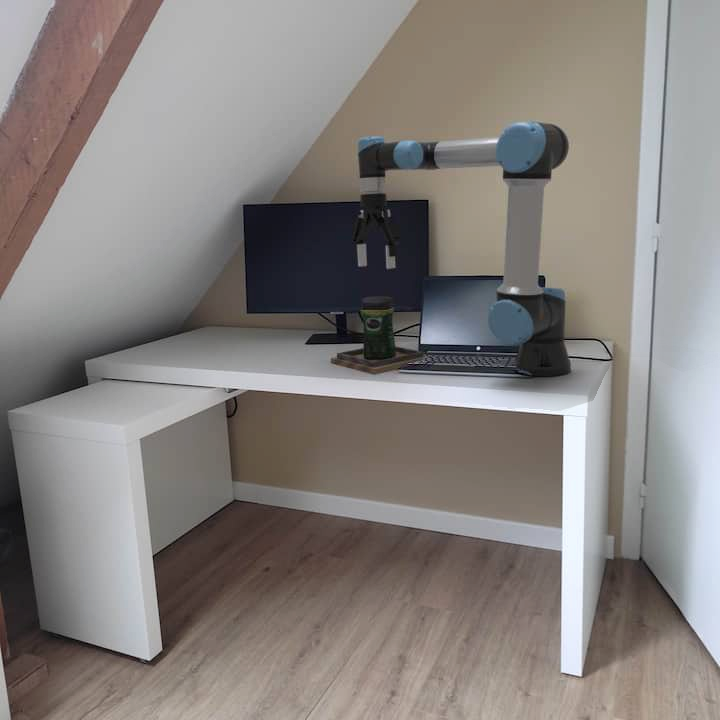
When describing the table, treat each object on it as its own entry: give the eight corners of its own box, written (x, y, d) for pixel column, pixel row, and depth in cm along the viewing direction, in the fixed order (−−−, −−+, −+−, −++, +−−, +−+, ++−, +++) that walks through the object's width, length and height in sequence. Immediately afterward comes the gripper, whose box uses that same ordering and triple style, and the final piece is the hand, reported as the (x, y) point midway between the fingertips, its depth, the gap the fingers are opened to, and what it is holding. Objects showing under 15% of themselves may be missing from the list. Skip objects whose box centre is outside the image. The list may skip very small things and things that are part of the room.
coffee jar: (399, 355, 222) (397, 294, 218) (389, 361, 215) (387, 298, 211) (370, 354, 226) (367, 294, 222) (359, 359, 219) (356, 298, 215)
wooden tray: (430, 361, 218) (430, 352, 218) (374, 374, 206) (374, 364, 206) (384, 351, 236) (384, 342, 235) (330, 362, 224) (330, 353, 223)
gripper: (411, 191, 202) (413, 267, 207) (357, 194, 222) (361, 264, 227) (390, 192, 198) (393, 270, 203) (337, 195, 218) (341, 266, 222)
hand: (376, 267), depth 215 cm, fingers open, 13 cm apart
